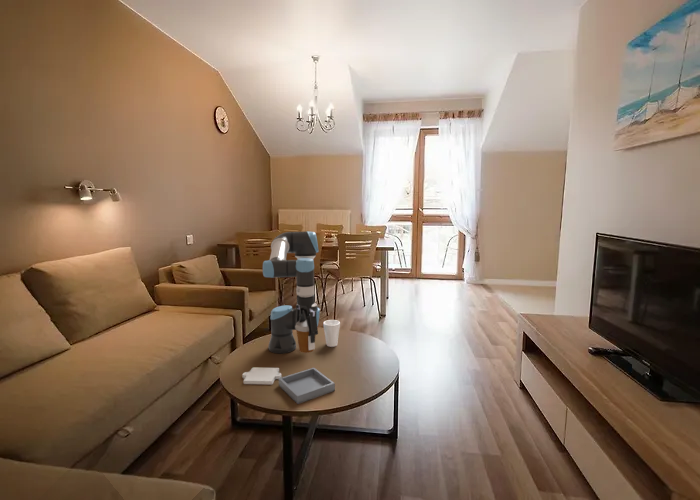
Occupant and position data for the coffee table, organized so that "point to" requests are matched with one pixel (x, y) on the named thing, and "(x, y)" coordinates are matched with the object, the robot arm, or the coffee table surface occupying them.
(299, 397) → the slate tray
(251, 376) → the mounting plate
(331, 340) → the foam cup
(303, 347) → the disposable coffee cup
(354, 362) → the coffee table surface
